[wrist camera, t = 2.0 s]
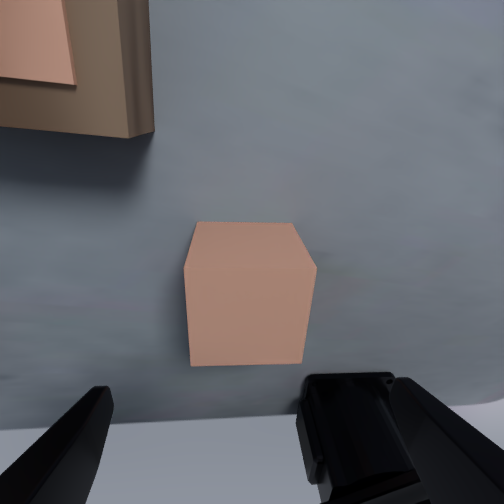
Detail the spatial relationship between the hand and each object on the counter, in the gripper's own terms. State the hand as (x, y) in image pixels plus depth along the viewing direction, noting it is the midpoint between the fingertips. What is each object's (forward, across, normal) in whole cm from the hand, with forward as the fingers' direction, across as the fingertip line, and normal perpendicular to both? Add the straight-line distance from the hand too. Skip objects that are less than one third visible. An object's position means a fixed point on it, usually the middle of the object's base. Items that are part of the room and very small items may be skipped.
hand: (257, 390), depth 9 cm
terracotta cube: (+8, 0, 0) cm, 8 cm away
